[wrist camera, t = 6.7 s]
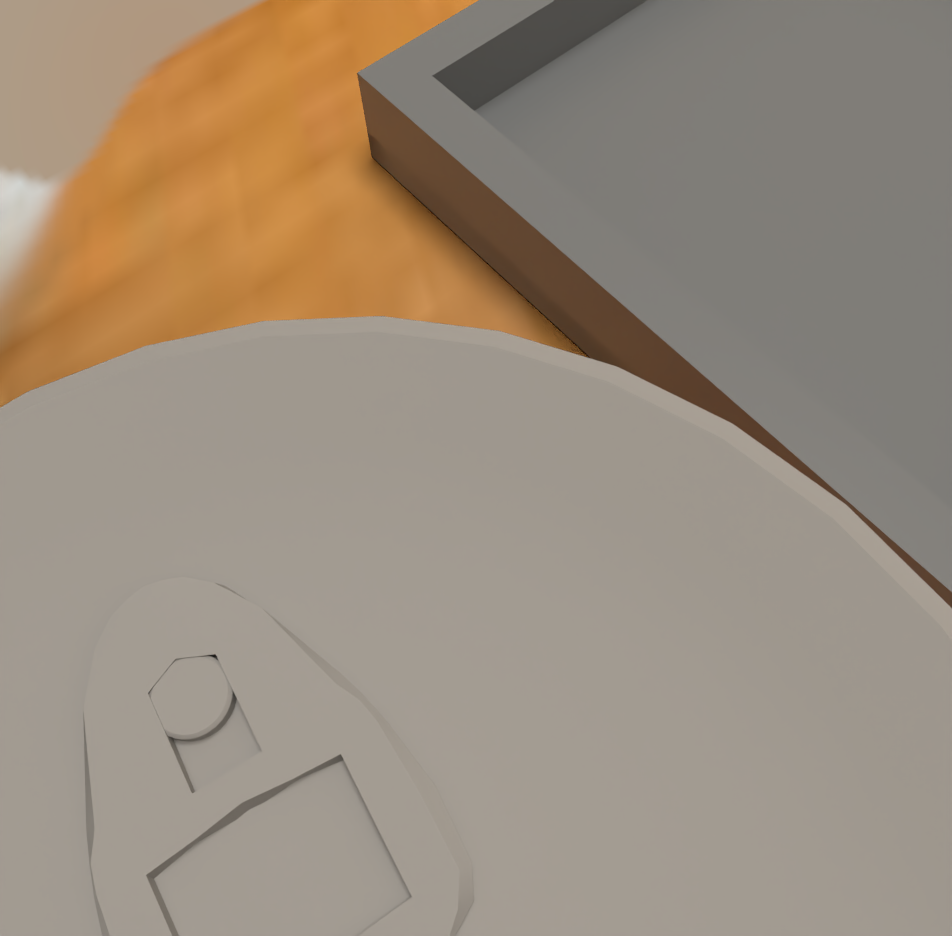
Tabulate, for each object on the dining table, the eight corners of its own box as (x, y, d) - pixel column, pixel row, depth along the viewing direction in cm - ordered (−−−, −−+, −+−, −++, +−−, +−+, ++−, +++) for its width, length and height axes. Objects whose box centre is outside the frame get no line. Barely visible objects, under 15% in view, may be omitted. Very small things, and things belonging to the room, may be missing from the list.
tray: (977, 713, 15) (1061, 687, 13) (371, 156, 21) (357, 73, 19) (1438, 202, 20) (1558, 117, 18) (835, -136, 26) (867, -232, 24)
